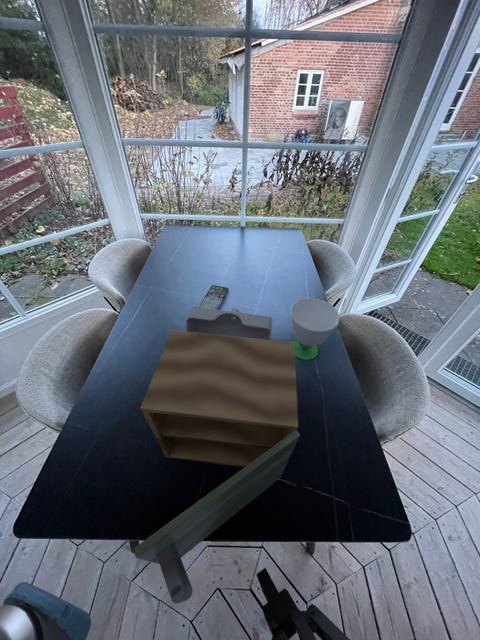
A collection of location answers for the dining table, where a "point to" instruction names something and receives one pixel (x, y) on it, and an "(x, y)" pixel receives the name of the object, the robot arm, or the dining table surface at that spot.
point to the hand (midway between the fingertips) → (263, 579)
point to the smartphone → (214, 297)
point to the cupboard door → (211, 516)
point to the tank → (228, 323)
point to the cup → (312, 325)
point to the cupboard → (222, 397)
